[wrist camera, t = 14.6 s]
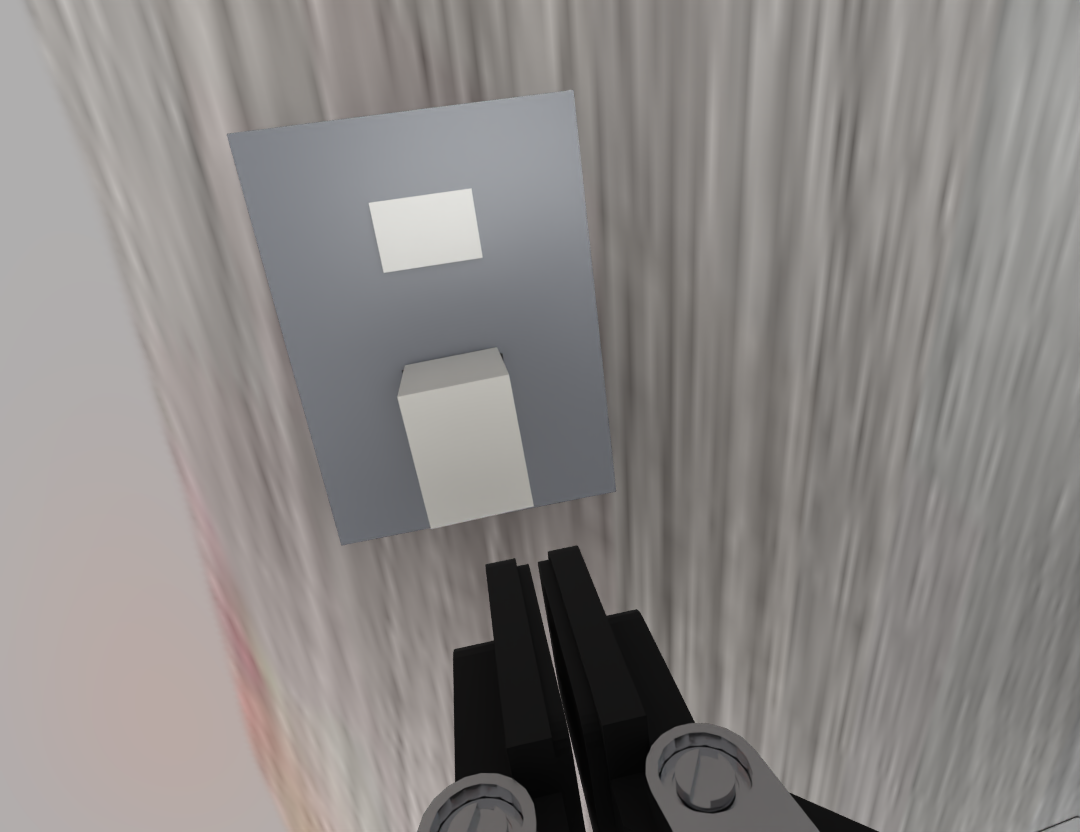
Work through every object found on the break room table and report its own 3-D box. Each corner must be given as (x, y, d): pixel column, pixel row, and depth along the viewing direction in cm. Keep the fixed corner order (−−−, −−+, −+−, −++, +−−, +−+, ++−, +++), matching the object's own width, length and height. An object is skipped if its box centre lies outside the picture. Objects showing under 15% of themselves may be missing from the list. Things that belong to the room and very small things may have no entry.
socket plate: (602, 469, 29) (621, 499, 26) (349, 518, 28) (338, 555, 25) (560, 102, 24) (578, 85, 21) (248, 142, 23) (218, 130, 20)
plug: (510, 434, 28) (533, 506, 21) (433, 451, 28) (431, 529, 21) (491, 333, 27) (508, 374, 20) (408, 349, 26) (396, 396, 19)
